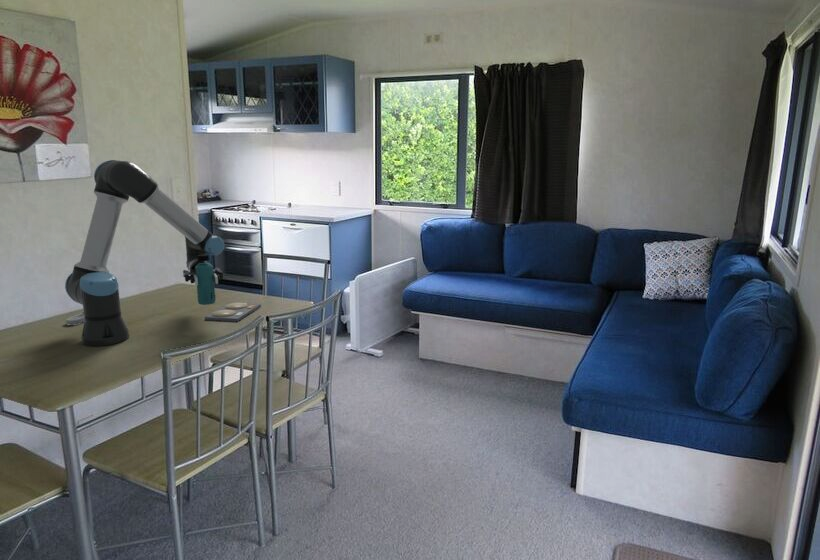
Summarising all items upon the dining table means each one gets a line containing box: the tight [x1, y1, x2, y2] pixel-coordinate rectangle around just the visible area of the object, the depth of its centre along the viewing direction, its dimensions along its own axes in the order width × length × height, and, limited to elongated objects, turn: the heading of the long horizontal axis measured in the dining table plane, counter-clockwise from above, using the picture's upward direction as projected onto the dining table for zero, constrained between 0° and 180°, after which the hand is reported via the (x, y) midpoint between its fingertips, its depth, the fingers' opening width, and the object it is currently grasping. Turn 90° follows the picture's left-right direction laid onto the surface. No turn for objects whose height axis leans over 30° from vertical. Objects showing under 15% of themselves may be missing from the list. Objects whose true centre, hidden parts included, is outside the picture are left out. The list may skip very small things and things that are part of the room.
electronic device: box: [65, 311, 85, 326], centre depth 235 cm, size 5×10×15 cm
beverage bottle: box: [195, 254, 217, 306], centre depth 223 cm, size 6×7×20 cm
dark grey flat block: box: [204, 302, 262, 322], centre depth 245 cm, size 22×14×2 cm, turn 170°
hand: (206, 280), depth 218 cm, fingers closed on beverage bottle, 6 cm apart
